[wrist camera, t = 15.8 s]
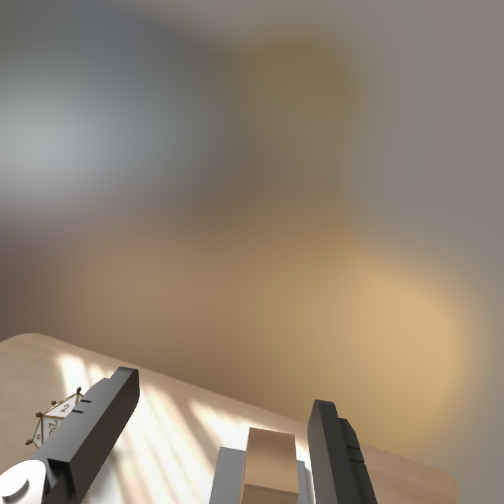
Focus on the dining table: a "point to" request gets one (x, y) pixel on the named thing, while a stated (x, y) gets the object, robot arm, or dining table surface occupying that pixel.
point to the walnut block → (269, 469)
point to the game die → (53, 418)
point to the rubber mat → (230, 475)
